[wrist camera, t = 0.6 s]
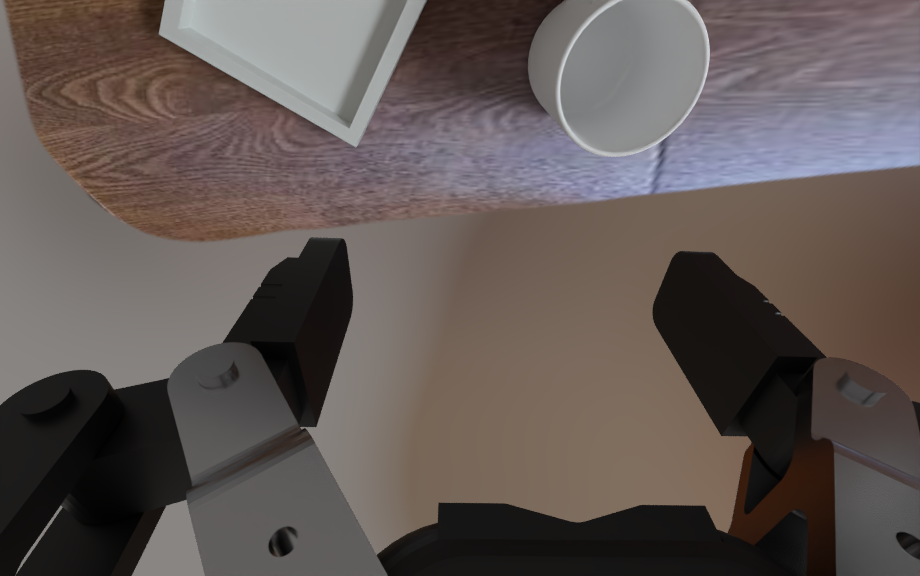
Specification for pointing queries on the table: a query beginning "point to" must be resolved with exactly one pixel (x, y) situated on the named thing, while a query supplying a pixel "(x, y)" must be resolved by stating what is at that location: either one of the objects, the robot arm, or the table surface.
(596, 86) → the mug
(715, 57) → the table surface
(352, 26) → the white tray
